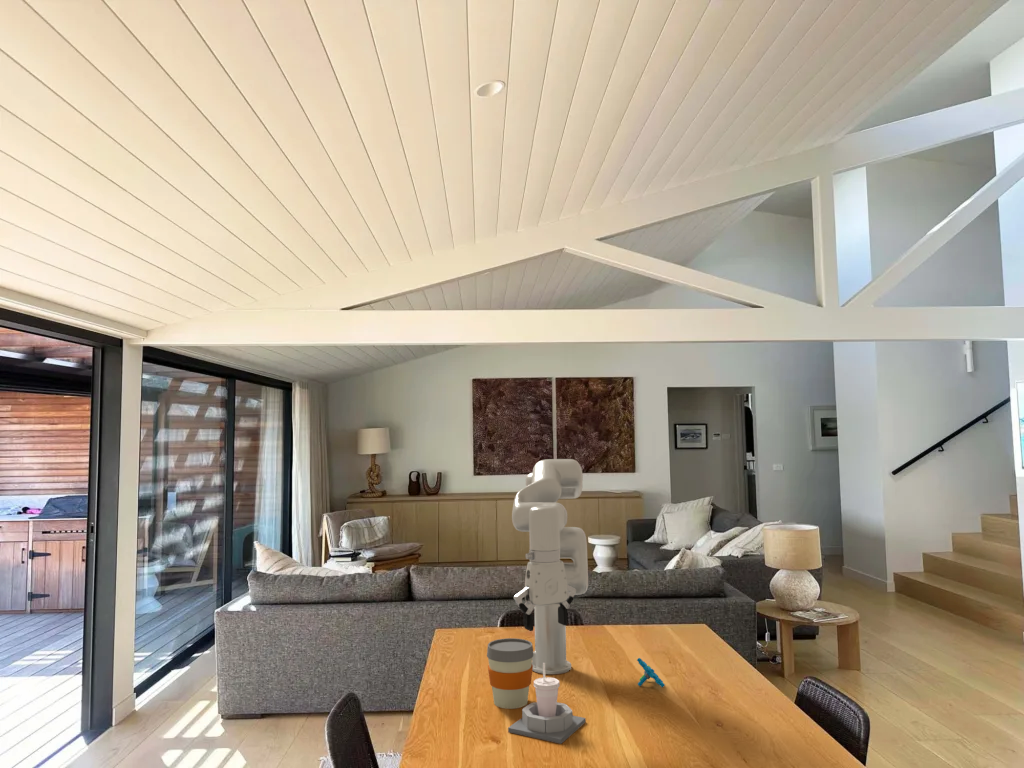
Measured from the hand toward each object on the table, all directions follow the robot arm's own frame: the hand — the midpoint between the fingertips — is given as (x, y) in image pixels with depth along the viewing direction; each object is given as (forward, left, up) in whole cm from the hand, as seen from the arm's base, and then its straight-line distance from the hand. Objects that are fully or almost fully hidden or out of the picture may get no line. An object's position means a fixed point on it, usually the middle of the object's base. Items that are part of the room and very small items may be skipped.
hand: (545, 626), depth 172 cm
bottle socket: (0, 0, -24) cm, 24 cm away
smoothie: (0, 0, -23) cm, 23 cm away
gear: (+13, +39, -24) cm, 48 cm away
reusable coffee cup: (-16, +10, -24) cm, 30 cm away
